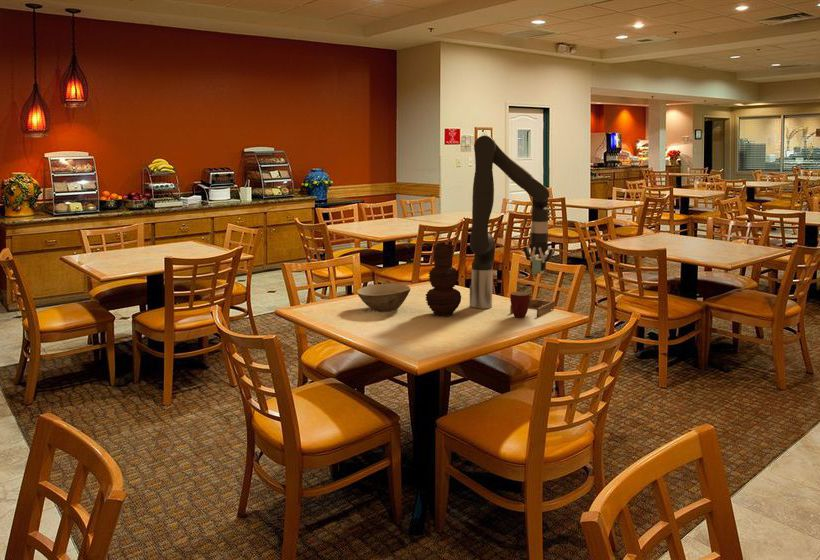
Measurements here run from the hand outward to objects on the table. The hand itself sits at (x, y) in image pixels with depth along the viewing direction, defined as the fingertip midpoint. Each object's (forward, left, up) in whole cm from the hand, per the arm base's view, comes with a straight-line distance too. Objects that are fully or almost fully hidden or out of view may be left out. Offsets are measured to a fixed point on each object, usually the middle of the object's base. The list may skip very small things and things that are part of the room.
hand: (538, 270), depth 302 cm
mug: (+1, -20, -17) cm, 27 cm away
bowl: (-56, -38, -17) cm, 70 cm away
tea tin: (0, 0, -1) cm, 1 cm away
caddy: (+1, -7, -17) cm, 18 cm away
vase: (-29, -32, -17) cm, 47 cm away
